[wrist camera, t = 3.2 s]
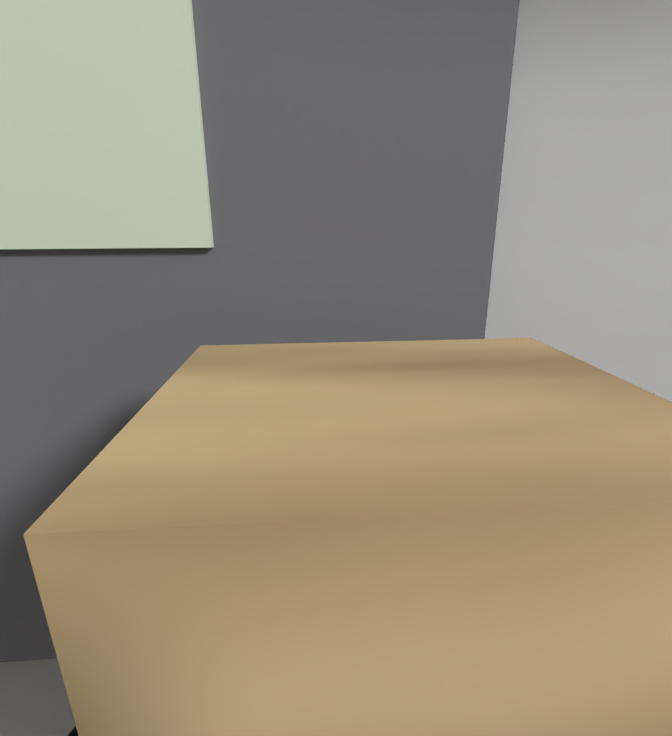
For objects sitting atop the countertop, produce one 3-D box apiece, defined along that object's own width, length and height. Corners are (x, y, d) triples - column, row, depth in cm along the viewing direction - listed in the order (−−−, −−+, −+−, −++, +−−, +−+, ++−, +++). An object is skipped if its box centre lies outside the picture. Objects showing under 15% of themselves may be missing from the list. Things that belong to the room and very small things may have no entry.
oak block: (480, 713, 10) (613, 1081, 6) (241, 732, 10) (190, 1139, 5) (531, 337, 7) (868, 493, 3) (200, 344, 7) (22, 533, 3)
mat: (447, 614, 13) (456, 637, 12) (-177, 654, 12) (-210, 682, 11) (536, -319, 7) (564, -385, 6) (-713, -418, 6) (-863, -514, 5)
